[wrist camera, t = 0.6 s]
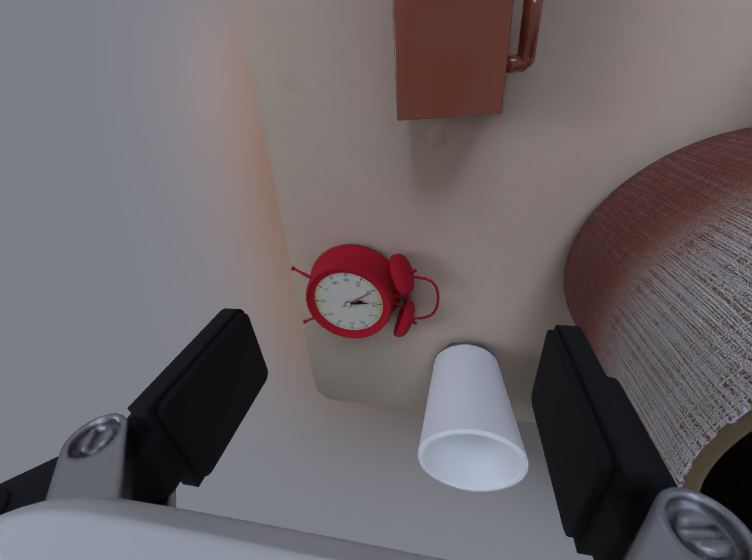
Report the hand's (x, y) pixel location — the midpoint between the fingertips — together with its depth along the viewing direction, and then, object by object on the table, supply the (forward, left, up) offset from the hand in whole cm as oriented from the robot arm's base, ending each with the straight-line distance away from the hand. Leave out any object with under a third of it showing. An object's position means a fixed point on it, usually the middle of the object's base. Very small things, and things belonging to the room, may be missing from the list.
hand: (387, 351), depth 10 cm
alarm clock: (+12, -6, -23) cm, 27 cm away
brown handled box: (-5, +3, -20) cm, 21 cm away
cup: (+23, +5, -23) cm, 33 cm away
